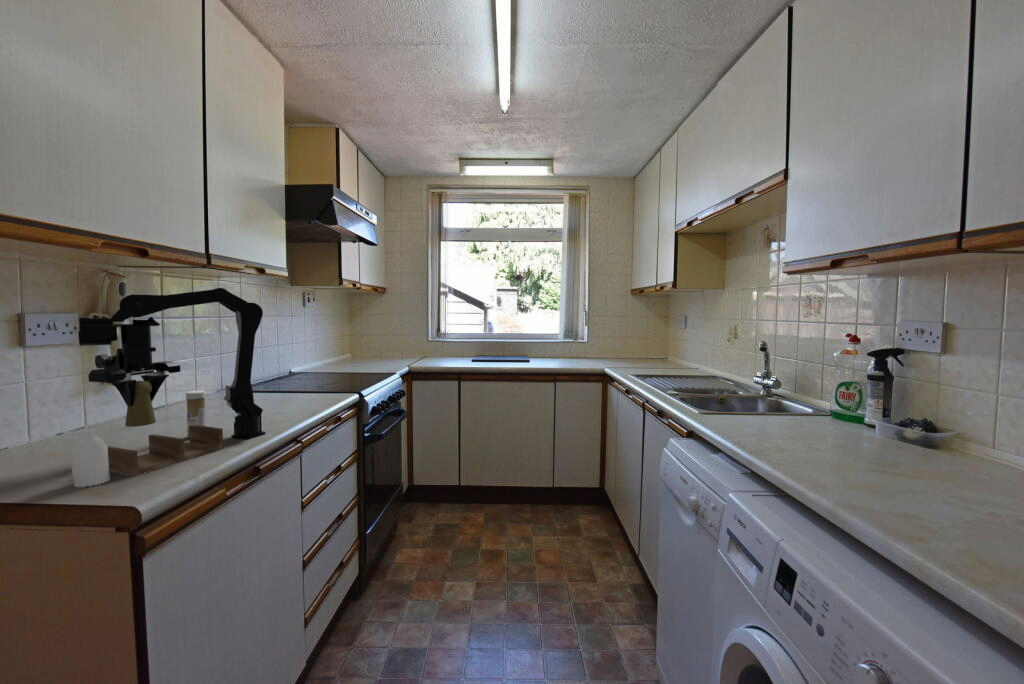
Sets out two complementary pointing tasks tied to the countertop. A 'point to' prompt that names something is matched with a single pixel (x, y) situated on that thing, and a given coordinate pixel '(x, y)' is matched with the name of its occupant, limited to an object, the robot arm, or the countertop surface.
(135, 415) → the olive bottle gourd
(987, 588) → the countertop surface
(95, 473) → the grey pointed block
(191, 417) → the sprinkles bottle
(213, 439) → the rack
